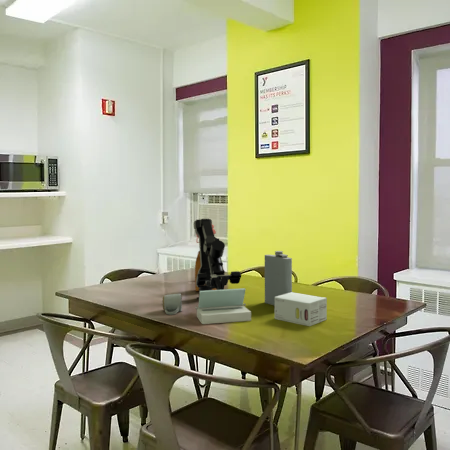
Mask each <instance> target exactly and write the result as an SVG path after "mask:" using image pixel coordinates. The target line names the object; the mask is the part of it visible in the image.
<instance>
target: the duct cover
mask: <svg viewBox="0 0 450 450" xmlns="http://www.w3.org/2000/svg"><path fill="white" fill-rule="evenodd" d="M245 295H246V288H243V287H242V288H228V289H227V288H226V289H225V288H224V290H206V291H200V295H199V294H198V297H199V299H198V304H197V305H198V306H197V308H198V309H202V308H217V307H232V306H244V305H243V304H244V301H245Z"/></svg>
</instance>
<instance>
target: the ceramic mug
mask: <svg viewBox="0 0 450 450" xmlns="http://www.w3.org/2000/svg"><path fill="white" fill-rule="evenodd" d="M161 304H162V310H163V311H164V313H165V314H166V315H168V316H173V315H177V314H178V312H182V310H183V306H182V305H183V300H182V294H181V293H173V294H166V295H165V294H164V295H163V296H162V303H161Z"/></svg>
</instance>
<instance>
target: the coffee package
mask: <svg viewBox="0 0 450 450" xmlns="http://www.w3.org/2000/svg"><path fill="white" fill-rule="evenodd" d="M209 255H210V254H209ZM195 258H196V259H195V264H194V281H195V284H194V285H195V286H194V287H195V288H194V289H195V291H196V292H199V287H197V286H196V278H197V274H198V271H199V269H200V267H201V263H200V250H198V252H197V256H196V257H195ZM212 290H217V289H216V288H214V289H212Z"/></svg>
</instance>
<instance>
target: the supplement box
mask: <svg viewBox="0 0 450 450" xmlns="http://www.w3.org/2000/svg"><path fill="white" fill-rule="evenodd" d="M327 300H328V299H327V297H323V296H318V295H317V296H316V295H312V294H305V293H299V292H293V291H292V292H290V293H287V294H283V295H280V296H276V297H275V305H274V319H275V320H279V321H283V322H288V323H291V324H297V325H302V326H306V327H311V326H314V325H316V324H319V323H322V322H323V321H327V316H328V315H327V313H328V312H327V311H328V310H327V307H328V303H327V302H328V301H327Z"/></svg>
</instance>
